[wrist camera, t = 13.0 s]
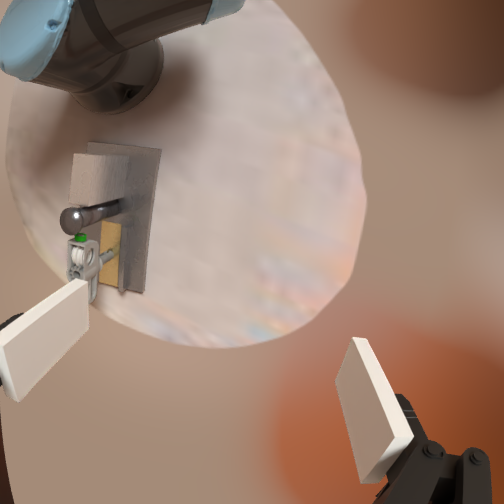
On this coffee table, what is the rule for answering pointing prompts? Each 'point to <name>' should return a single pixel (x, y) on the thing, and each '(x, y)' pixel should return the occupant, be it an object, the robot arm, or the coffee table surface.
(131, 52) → the robot arm
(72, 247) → the mechanical component
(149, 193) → the hinge base
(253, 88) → the coffee table surface
